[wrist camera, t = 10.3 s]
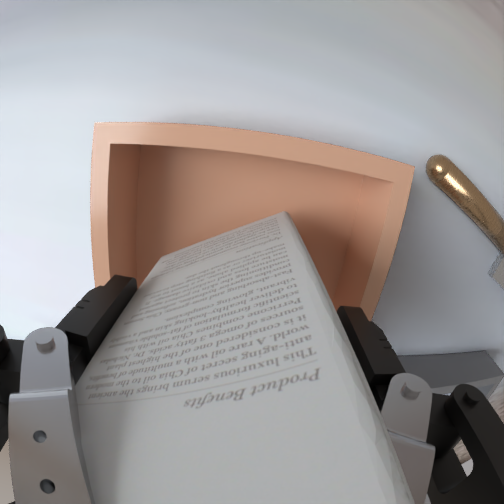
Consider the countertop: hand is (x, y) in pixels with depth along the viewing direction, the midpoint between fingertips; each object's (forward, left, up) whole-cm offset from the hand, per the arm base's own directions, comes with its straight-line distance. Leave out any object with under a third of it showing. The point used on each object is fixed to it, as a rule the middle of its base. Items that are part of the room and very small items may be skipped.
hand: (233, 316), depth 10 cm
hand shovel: (-16, -4, -6) cm, 18 cm away
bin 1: (0, 0, -5) cm, 5 cm away
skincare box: (0, 0, -4) cm, 4 cm away
